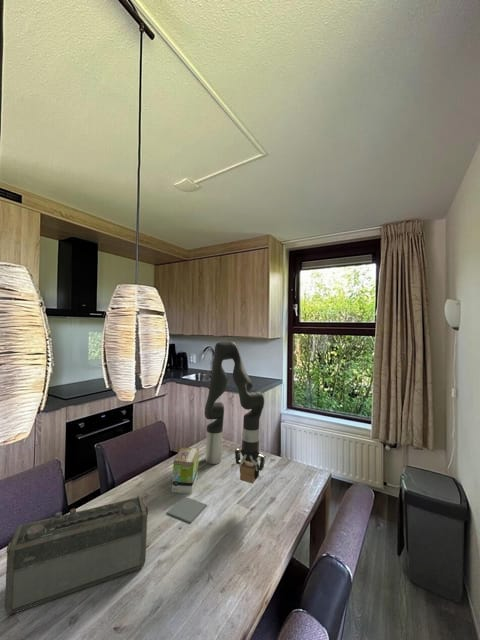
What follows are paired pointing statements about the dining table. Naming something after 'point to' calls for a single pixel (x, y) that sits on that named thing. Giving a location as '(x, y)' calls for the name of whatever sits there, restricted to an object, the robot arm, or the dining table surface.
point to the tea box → (185, 470)
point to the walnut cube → (247, 472)
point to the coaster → (187, 509)
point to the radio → (74, 552)
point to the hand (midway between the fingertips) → (249, 475)
